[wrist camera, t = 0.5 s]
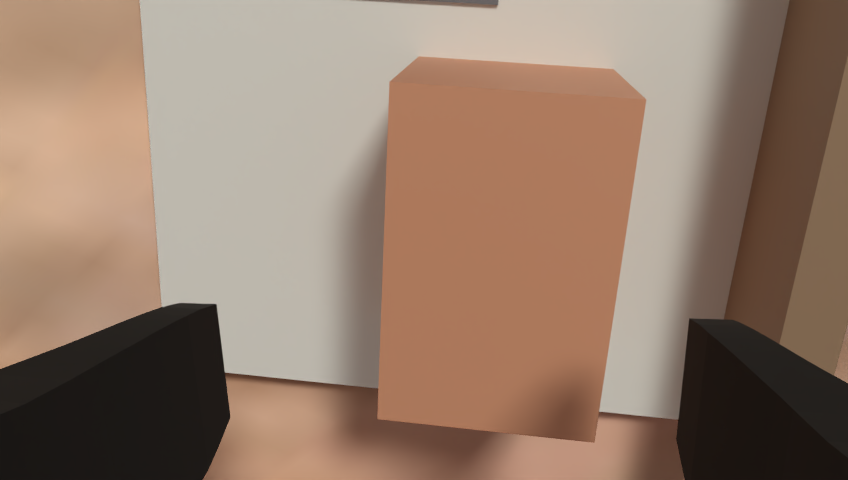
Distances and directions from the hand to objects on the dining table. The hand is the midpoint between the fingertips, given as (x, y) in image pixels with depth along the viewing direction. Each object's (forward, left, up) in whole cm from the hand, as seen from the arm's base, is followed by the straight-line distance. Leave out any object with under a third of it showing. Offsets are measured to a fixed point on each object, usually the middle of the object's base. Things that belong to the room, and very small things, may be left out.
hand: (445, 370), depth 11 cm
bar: (-1, 0, -8) cm, 8 cm away
